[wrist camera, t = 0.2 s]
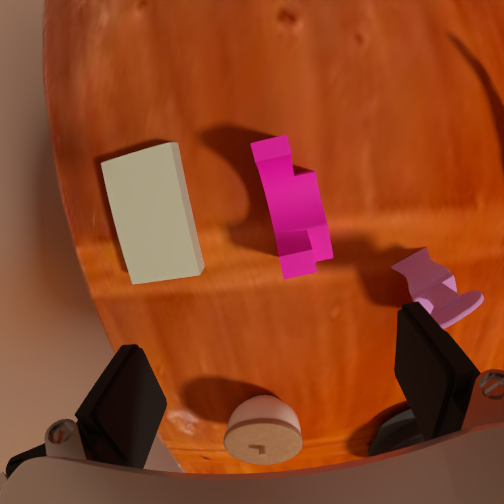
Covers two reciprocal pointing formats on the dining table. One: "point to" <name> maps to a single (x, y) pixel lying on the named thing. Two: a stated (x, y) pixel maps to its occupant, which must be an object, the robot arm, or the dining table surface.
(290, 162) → the toy block
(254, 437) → the lidded bowl
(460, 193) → the dining table surface
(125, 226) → the base slab
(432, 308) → the toy chair
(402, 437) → the casserole
